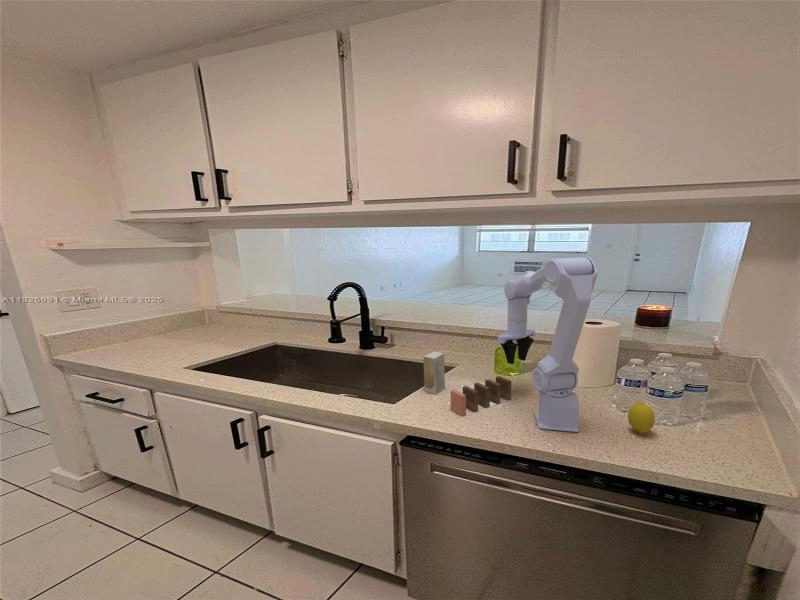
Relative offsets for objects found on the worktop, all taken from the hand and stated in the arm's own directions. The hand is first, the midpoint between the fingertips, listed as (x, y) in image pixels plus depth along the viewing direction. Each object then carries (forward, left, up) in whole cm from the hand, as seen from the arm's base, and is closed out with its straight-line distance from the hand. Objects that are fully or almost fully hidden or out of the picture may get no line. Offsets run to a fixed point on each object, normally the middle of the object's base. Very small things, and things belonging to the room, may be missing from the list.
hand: (516, 361), depth 114 cm
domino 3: (+10, +10, -10) cm, 18 cm away
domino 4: (+7, +7, -10) cm, 14 cm away
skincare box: (+26, +2, -11) cm, 28 cm away
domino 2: (+13, +13, -10) cm, 22 cm away
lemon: (-28, +19, -11) cm, 36 cm away
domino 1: (+17, +17, -10) cm, 26 cm away
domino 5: (+4, +4, -10) cm, 12 cm away
